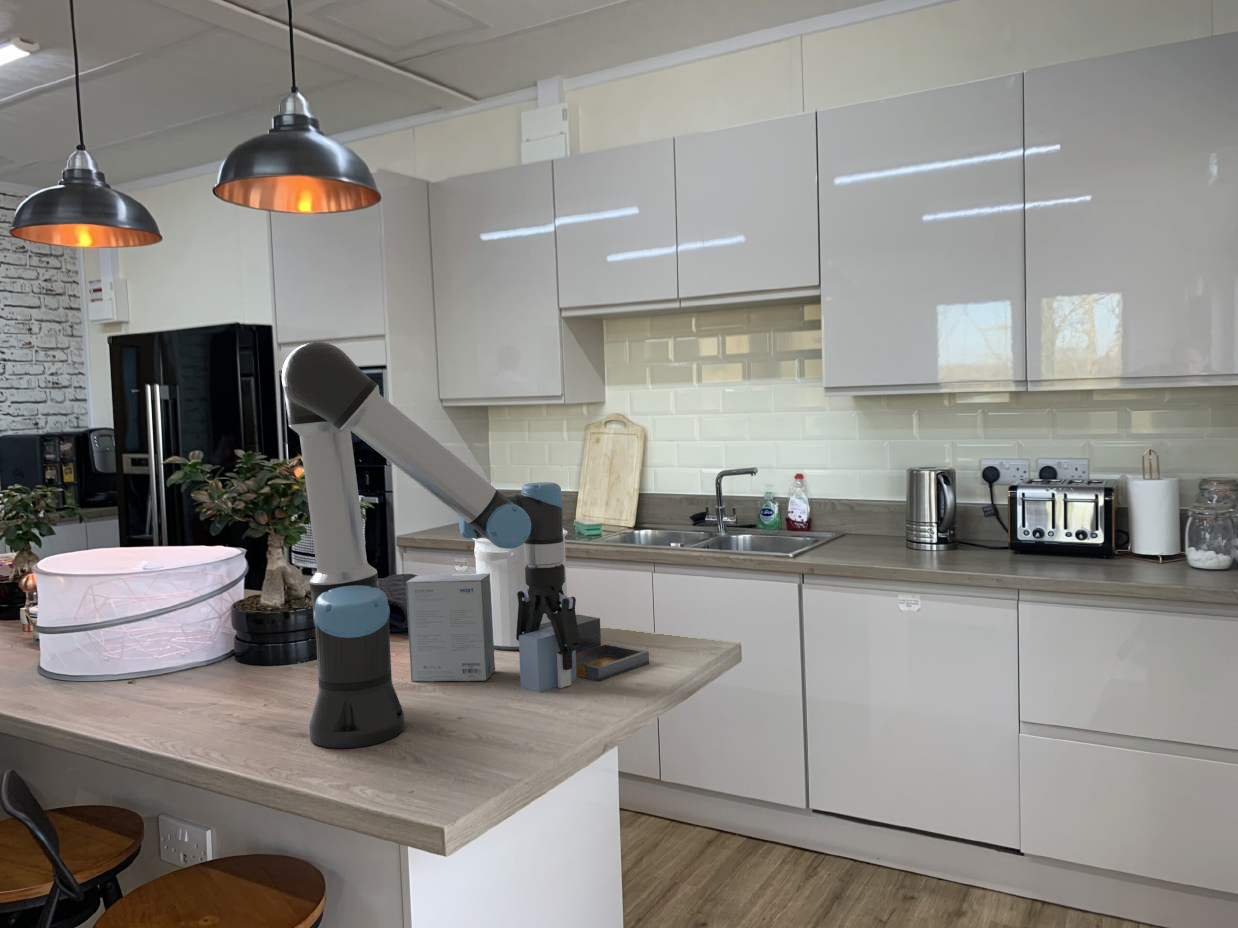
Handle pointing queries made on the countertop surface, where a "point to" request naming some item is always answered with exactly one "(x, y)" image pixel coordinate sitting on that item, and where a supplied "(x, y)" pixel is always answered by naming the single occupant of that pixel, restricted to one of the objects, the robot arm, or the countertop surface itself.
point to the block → (540, 660)
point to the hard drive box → (450, 627)
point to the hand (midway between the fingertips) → (549, 681)
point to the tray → (602, 652)
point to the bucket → (505, 587)
